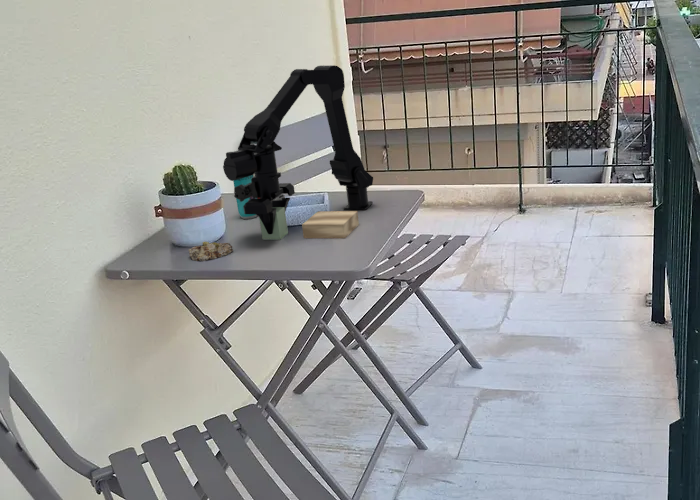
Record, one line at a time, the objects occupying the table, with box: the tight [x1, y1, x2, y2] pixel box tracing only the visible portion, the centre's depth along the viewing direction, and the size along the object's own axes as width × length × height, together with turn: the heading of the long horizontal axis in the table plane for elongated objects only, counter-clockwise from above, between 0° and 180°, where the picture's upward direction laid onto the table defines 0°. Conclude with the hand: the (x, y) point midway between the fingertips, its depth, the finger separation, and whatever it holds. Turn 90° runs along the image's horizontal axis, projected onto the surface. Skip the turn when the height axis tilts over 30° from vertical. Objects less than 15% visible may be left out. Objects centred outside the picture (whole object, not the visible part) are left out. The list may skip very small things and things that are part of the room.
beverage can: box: [232, 174, 258, 220], centre depth 211 cm, size 6×6×15 cm
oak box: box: [301, 210, 360, 239], centre depth 191 cm, size 11×11×4 cm
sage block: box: [258, 207, 289, 241], centre depth 192 cm, size 5×5×7 cm
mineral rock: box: [188, 240, 234, 262], centre depth 184 cm, size 11×4×8 cm
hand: (274, 230), depth 193 cm, fingers closed on sage block, 5 cm apart
